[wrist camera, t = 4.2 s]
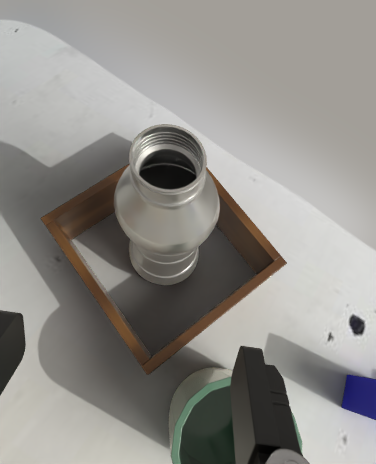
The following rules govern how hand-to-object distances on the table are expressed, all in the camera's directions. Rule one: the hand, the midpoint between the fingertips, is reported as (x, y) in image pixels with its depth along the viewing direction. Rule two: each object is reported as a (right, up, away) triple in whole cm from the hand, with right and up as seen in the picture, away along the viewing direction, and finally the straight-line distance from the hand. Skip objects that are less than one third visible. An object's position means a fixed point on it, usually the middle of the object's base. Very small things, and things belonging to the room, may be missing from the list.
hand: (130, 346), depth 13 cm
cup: (+5, -12, +18) cm, 23 cm away
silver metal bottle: (0, +2, +23) cm, 23 cm away
